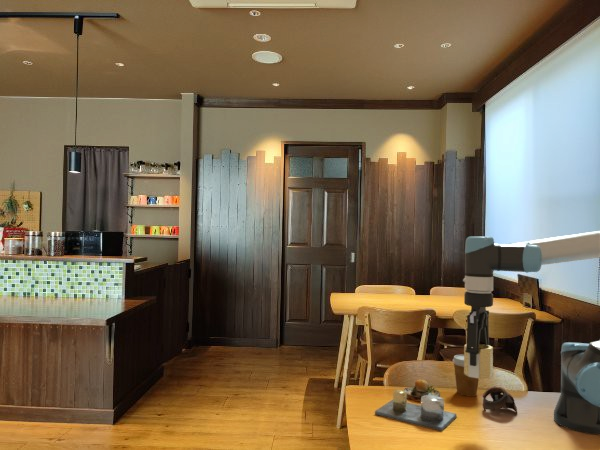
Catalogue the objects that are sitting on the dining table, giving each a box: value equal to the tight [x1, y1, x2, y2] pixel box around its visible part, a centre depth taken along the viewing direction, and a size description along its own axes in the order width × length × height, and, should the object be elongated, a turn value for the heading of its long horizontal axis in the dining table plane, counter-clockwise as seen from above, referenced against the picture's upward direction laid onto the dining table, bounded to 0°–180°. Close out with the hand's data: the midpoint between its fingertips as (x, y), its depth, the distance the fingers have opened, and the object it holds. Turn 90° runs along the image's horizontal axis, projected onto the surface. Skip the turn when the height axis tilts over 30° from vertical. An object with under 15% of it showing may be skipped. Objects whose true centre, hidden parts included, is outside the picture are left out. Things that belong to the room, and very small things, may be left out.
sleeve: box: [463, 343, 494, 380], centre depth 136 cm, size 7×7×8 cm
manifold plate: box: [374, 389, 457, 432], centre depth 144 cm, size 20×13×6 cm, turn 55°
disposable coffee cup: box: [452, 354, 480, 397], centre depth 166 cm, size 10×10×12 cm
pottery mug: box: [482, 385, 518, 415], centre depth 150 cm, size 12×10×8 cm
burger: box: [403, 378, 441, 403], centre depth 161 cm, size 12×12×8 cm
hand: (477, 373), depth 136 cm, fingers closed on sleeve, 7 cm apart
